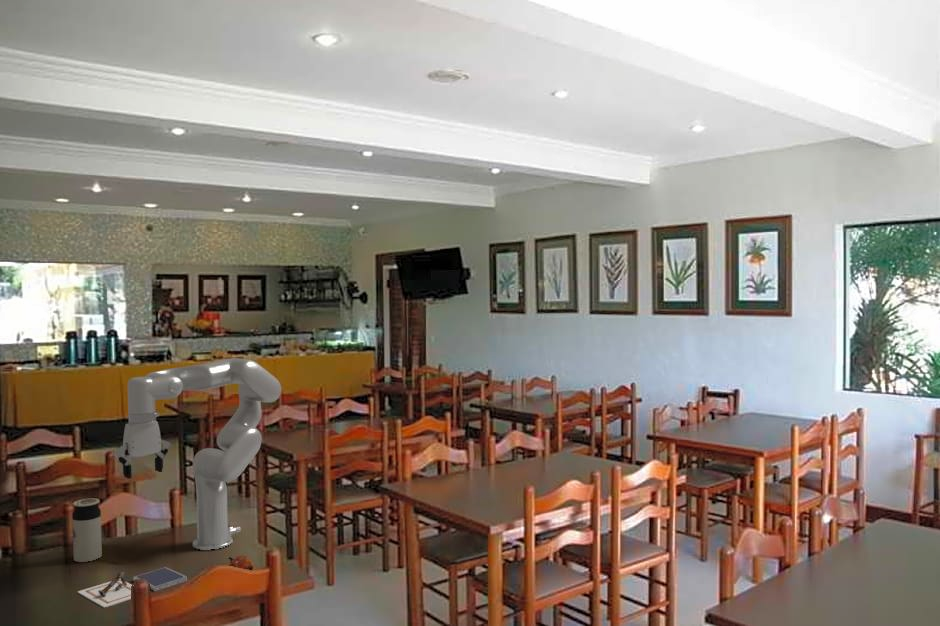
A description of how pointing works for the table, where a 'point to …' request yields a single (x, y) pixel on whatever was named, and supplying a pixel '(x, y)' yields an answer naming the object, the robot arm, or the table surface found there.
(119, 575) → the wooden post with brackets
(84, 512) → the travel mug
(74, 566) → the table surface
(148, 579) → the ink pad
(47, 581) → the table surface
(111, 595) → the marked card
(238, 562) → the pomegranate
